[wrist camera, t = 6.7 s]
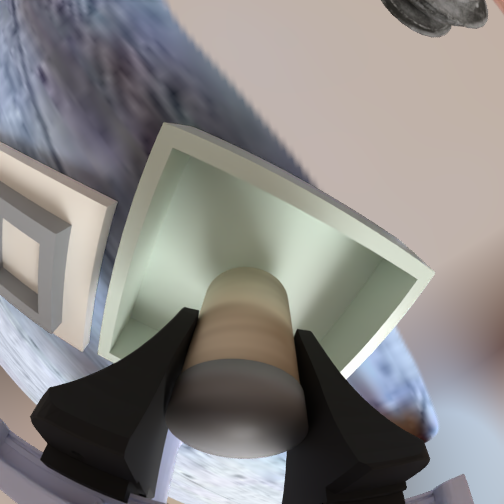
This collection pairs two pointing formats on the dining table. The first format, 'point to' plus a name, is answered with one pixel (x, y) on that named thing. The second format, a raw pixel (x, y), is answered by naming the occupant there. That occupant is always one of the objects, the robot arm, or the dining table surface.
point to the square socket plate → (51, 245)
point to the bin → (252, 250)
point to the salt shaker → (438, 14)
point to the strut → (240, 372)
